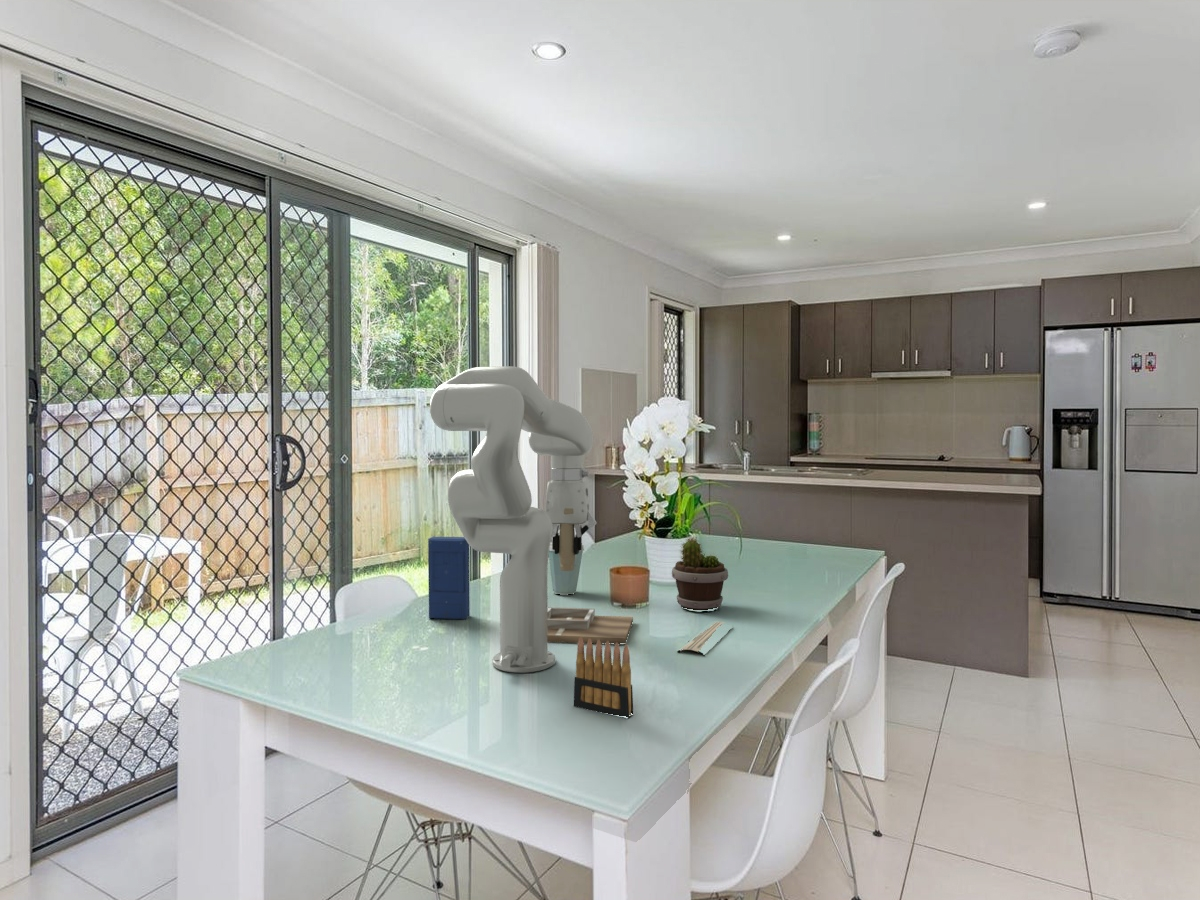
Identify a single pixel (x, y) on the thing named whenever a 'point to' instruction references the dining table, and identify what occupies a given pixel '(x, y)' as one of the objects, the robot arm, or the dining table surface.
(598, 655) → the ammunition clip
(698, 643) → the beige flat strip
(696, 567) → the flowerpot
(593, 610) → the board
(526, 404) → the robot arm
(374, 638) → the dining table surface
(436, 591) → the electronic device
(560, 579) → the disposable coffee cup
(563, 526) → the handle
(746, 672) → the dining table surface
